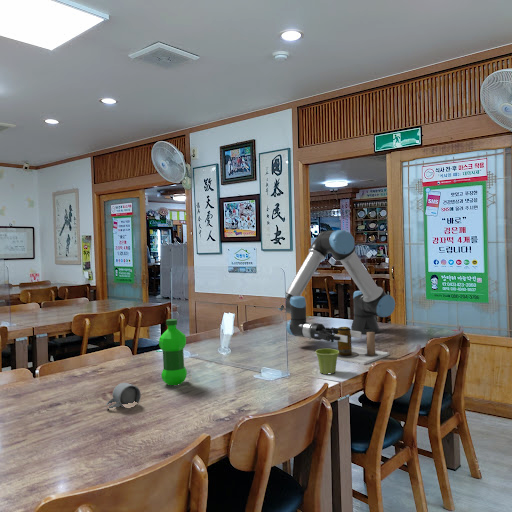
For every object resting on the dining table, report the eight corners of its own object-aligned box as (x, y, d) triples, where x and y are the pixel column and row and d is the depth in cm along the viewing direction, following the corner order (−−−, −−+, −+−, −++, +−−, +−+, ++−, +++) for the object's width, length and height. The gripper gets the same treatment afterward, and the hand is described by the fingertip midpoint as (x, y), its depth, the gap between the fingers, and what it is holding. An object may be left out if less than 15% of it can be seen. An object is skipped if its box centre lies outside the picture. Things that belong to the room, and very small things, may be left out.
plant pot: (340, 369, 192) (340, 348, 192) (338, 376, 183) (337, 354, 183) (317, 368, 195) (317, 348, 194) (314, 375, 186) (313, 354, 185)
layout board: (354, 348, 225) (353, 325, 224) (389, 354, 212) (388, 330, 211) (328, 357, 211) (327, 333, 211) (363, 364, 198) (363, 338, 197)
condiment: (344, 351, 217) (343, 325, 216) (359, 354, 210) (358, 327, 210) (333, 354, 212) (332, 328, 212) (348, 357, 206) (347, 330, 205)
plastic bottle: (158, 382, 185) (155, 319, 184) (185, 378, 189) (182, 316, 188) (163, 389, 176) (159, 323, 175) (191, 385, 180) (187, 320, 179)
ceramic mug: (131, 399, 167) (130, 378, 167) (141, 405, 161) (140, 383, 160) (102, 407, 160) (100, 385, 160) (111, 414, 154) (110, 391, 154)
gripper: (329, 334, 232) (368, 340, 216) (299, 343, 216) (339, 350, 200) (328, 319, 231) (368, 324, 215) (298, 327, 216) (338, 333, 200)
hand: (354, 337), depth 208 cm, fingers open, 10 cm apart
